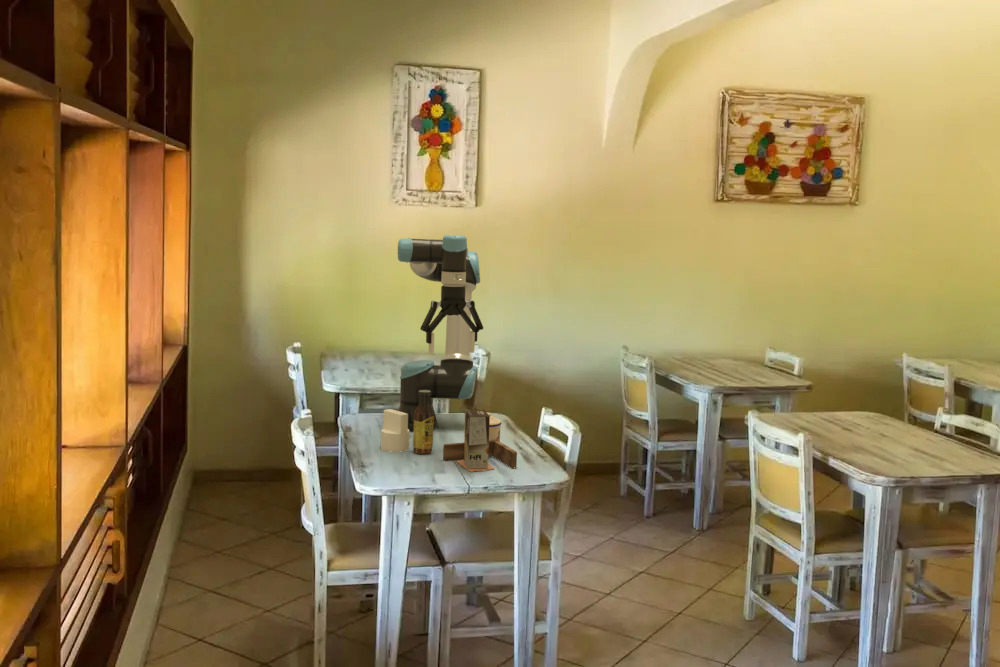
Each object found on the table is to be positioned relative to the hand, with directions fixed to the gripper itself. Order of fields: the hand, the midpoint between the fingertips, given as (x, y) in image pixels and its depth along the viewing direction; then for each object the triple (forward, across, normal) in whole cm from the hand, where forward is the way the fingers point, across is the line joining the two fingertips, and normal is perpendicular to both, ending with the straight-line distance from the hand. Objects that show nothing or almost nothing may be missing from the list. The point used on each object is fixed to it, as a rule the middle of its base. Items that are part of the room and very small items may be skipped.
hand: (451, 353), depth 277 cm
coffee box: (+32, +3, -15) cm, 36 cm away
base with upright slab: (+33, -14, +11) cm, 37 cm away
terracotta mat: (+32, +3, -15) cm, 36 cm away
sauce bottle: (+33, -7, +4) cm, 34 cm away
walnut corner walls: (+32, +5, -14) cm, 35 cm away
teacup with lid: (+33, +15, +4) cm, 36 cm away
